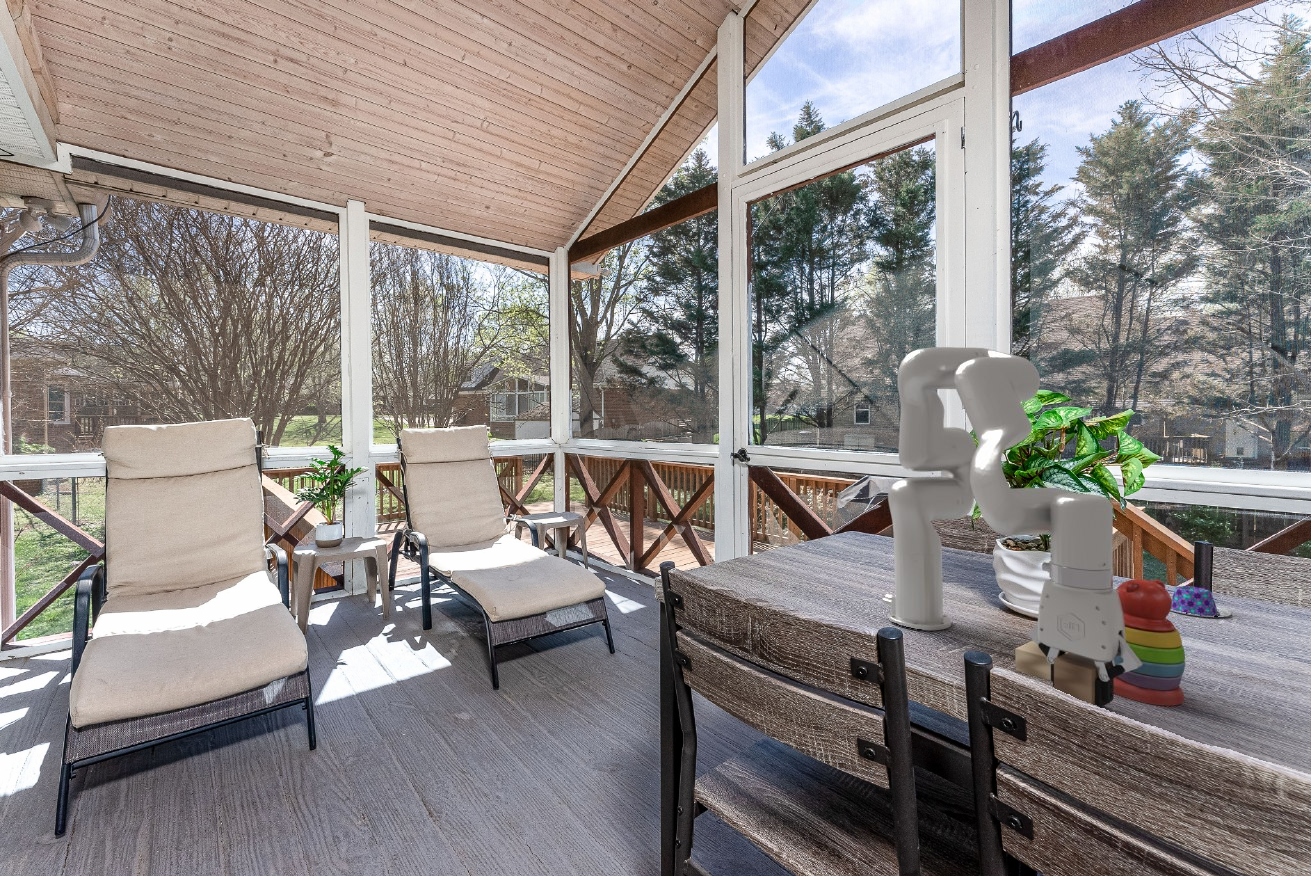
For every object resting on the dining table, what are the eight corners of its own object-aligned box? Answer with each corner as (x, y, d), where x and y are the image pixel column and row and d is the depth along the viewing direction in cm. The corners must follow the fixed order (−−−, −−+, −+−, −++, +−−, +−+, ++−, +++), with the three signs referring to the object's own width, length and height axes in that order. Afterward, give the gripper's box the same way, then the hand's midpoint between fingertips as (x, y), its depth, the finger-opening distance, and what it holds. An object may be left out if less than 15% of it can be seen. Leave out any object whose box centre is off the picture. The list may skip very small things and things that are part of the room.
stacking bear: (1148, 677, 96) (1146, 570, 96) (1208, 705, 86) (1206, 586, 86) (1084, 679, 95) (1082, 572, 95) (1138, 708, 85) (1136, 588, 85)
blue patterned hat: (1148, 609, 132) (1147, 586, 132) (1172, 601, 138) (1171, 579, 138) (1217, 623, 122) (1217, 598, 122) (1240, 614, 127) (1240, 590, 127)
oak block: (1015, 671, 100) (1015, 648, 100) (1034, 661, 104) (1033, 639, 104) (1062, 685, 94) (1061, 660, 94) (1079, 674, 98) (1079, 651, 98)
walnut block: (1054, 697, 88) (1054, 658, 88) (1071, 689, 90) (1071, 651, 90) (1091, 711, 83) (1091, 670, 83) (1108, 702, 86) (1108, 662, 86)
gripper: (1008, 568, 92) (1009, 680, 92) (1137, 594, 77) (1137, 728, 78) (1035, 562, 96) (1035, 670, 96) (1163, 586, 81) (1163, 714, 81)
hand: (1081, 695), depth 87 cm, fingers closed on walnut block, 5 cm apart
